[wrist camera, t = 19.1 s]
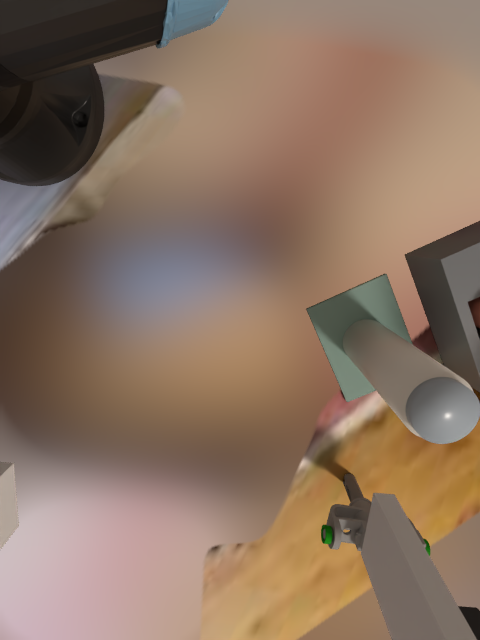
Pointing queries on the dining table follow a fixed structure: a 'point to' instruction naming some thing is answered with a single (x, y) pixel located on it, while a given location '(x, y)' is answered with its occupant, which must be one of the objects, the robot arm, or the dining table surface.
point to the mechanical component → (352, 519)
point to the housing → (451, 297)
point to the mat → (341, 314)
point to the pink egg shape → (475, 311)
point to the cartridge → (413, 383)
